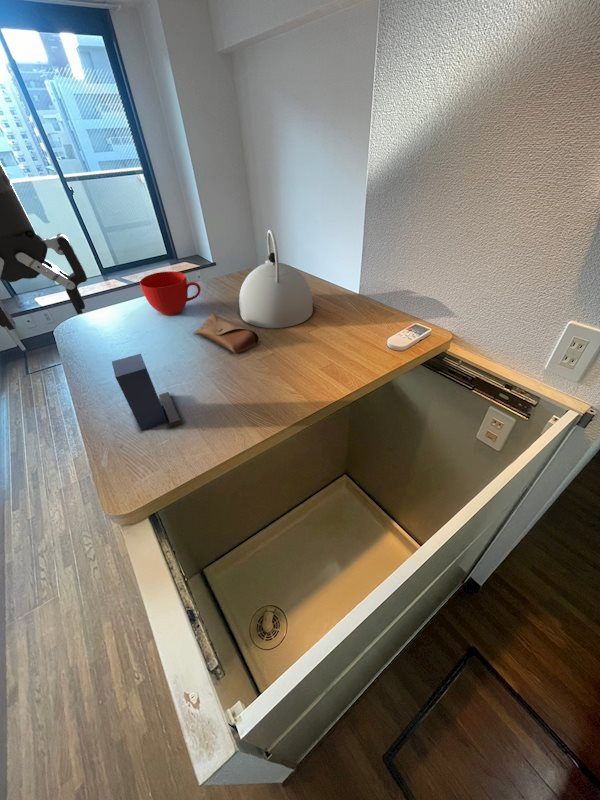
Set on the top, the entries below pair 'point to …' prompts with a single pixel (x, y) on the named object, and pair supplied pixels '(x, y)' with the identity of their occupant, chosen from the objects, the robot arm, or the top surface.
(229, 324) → the sunglasses case
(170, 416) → the stop strip
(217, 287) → the top surface
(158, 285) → the ceramic cup
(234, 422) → the top surface
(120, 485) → the top surface
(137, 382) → the navy box
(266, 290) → the kettle
